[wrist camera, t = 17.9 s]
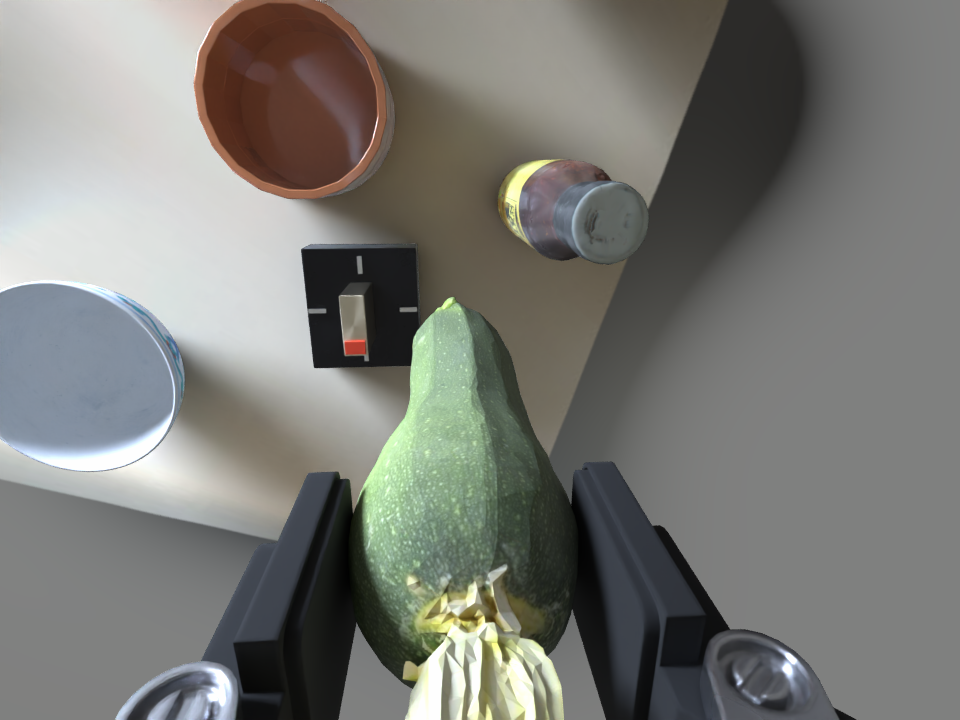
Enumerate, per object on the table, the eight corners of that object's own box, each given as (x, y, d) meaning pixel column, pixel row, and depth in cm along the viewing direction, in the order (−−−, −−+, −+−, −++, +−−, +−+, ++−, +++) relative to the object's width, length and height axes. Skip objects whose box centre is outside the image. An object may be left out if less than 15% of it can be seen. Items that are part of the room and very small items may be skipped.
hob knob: (349, 282, 43) (337, 296, 38) (372, 282, 43) (363, 295, 38) (354, 337, 44) (343, 357, 39) (376, 336, 44) (368, 356, 39)
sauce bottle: (480, 206, 44) (510, 228, 26) (528, 144, 43) (597, 118, 24) (538, 255, 46) (607, 308, 27) (586, 196, 45) (693, 210, 26)
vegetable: (519, 350, 23) (856, 1085, 4) (440, 404, 24) (444, 1254, 5) (461, 269, 22) (594, 833, 3) (378, 328, 23) (71, 1107, 4)
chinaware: (-1, 352, 45) (-86, 385, 38) (100, 225, 43) (30, 235, 35) (151, 457, 50) (102, 506, 42) (252, 348, 47) (218, 380, 40)
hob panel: (309, 244, 44) (300, 249, 41) (417, 243, 45) (415, 248, 42) (321, 357, 48) (313, 369, 45) (421, 354, 48) (420, 366, 45)
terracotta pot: (222, 21, 39) (178, -11, 32) (390, 25, 40) (380, -6, 33) (246, 195, 43) (211, 199, 36) (398, 195, 44) (391, 198, 37)
